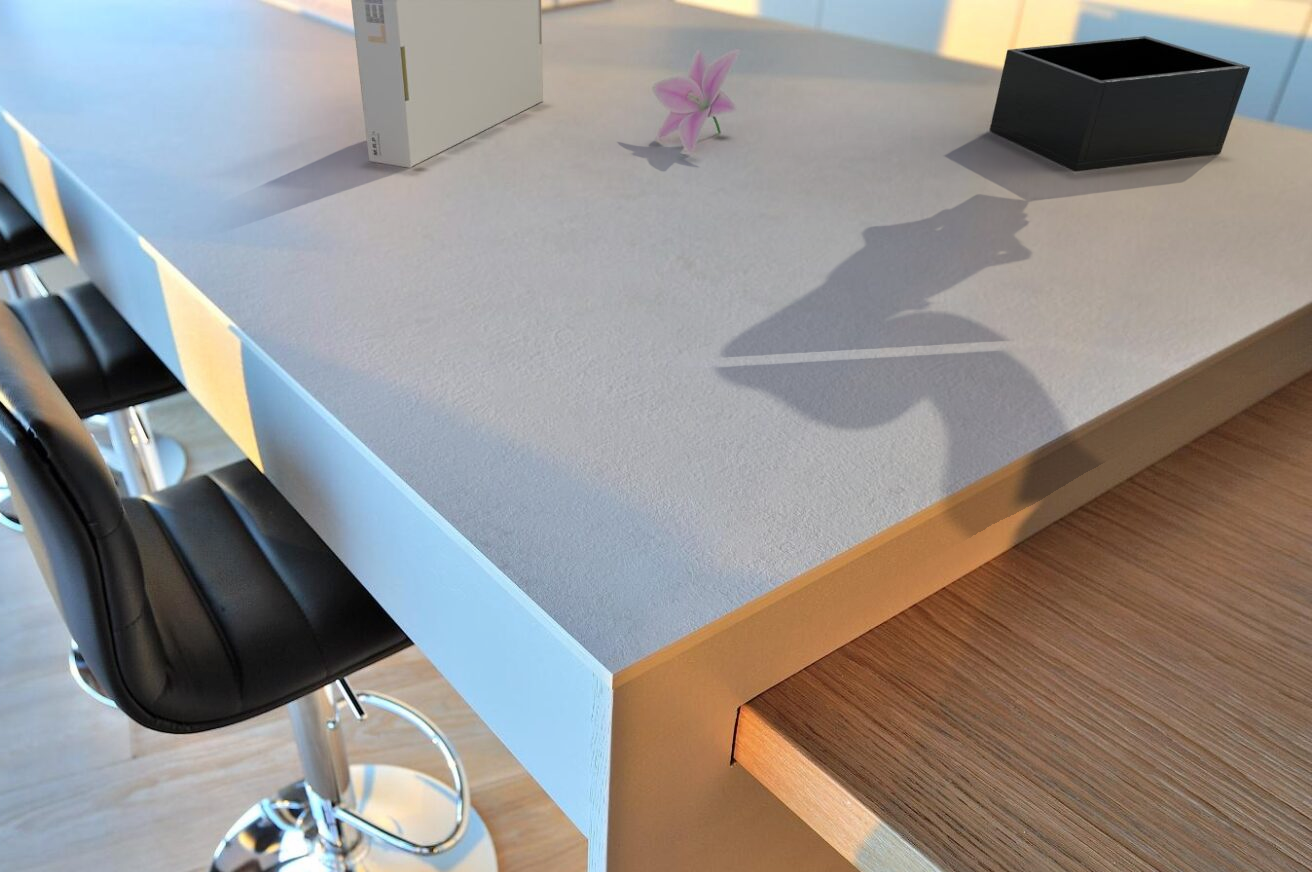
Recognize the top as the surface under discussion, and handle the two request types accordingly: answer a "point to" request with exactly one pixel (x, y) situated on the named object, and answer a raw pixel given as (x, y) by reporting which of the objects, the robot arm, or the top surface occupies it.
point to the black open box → (1117, 101)
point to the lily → (695, 97)
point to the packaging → (443, 71)
